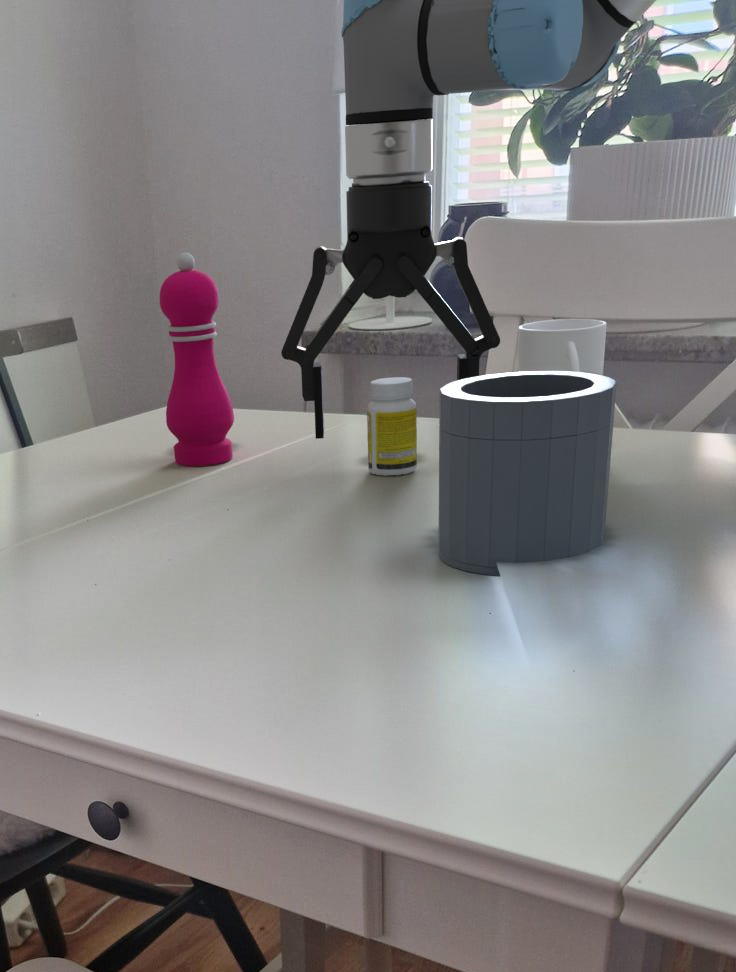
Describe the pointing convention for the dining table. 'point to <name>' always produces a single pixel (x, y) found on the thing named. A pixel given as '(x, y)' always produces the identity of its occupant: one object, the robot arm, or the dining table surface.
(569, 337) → the mug
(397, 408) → the supplement bottle
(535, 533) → the open container
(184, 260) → the pepper mill
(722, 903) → the dining table surface
